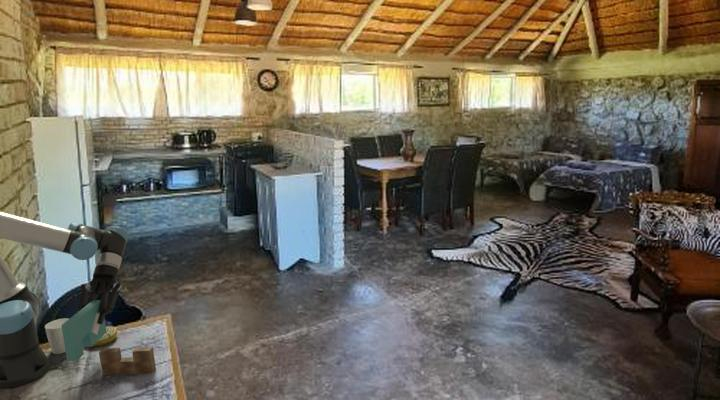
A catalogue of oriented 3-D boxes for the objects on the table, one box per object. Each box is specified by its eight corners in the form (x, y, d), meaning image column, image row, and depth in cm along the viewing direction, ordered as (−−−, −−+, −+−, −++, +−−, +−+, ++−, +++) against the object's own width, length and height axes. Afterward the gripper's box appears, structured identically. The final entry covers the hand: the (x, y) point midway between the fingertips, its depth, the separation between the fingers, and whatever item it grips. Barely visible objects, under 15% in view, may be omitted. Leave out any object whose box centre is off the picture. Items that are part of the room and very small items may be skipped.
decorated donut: (88, 337, 174) (86, 327, 173) (119, 331, 177) (118, 322, 176) (82, 350, 164) (80, 341, 163) (115, 344, 168) (114, 335, 167)
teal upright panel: (97, 332, 160) (93, 300, 157) (106, 332, 160) (102, 299, 157) (67, 361, 142) (61, 325, 140) (76, 360, 142) (71, 325, 140)
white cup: (80, 343, 169) (76, 318, 166) (65, 355, 161) (60, 329, 159) (60, 343, 169) (56, 318, 167) (44, 354, 162) (39, 328, 160)
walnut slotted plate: (102, 375, 149) (98, 352, 147) (106, 370, 151) (102, 348, 149) (152, 373, 149) (149, 350, 147) (155, 368, 152) (152, 346, 150)
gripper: (134, 271, 168) (118, 336, 155) (89, 272, 167) (69, 337, 154) (126, 263, 161) (108, 329, 149) (79, 263, 161) (57, 331, 148)
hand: (88, 333), depth 151 cm, fingers closed on teal upright panel, 3 cm apart
